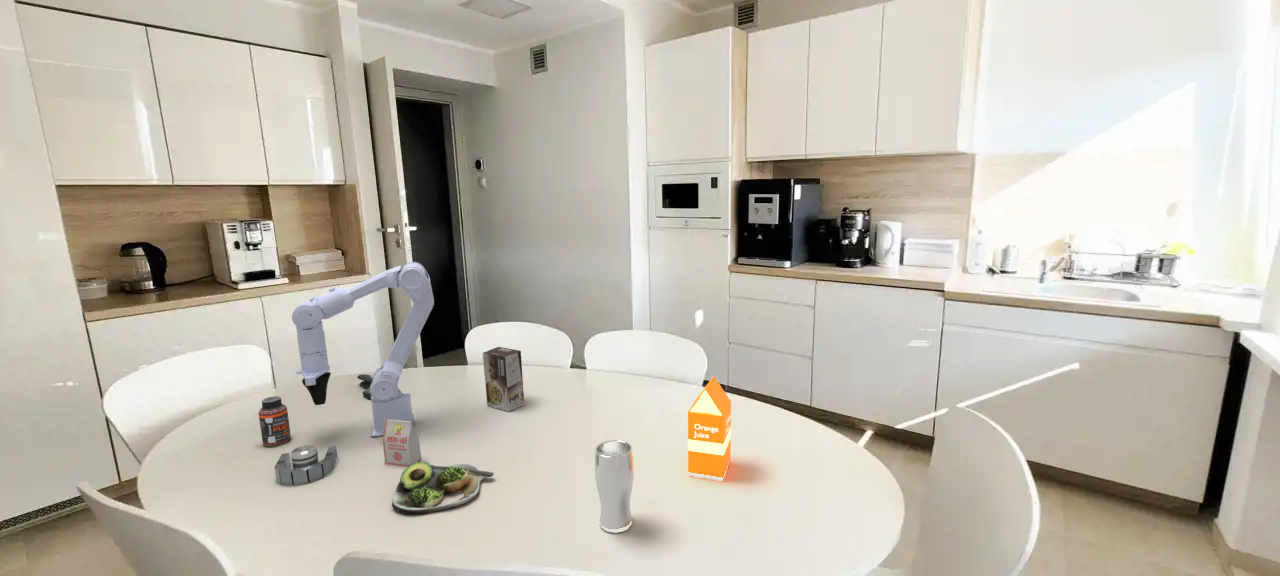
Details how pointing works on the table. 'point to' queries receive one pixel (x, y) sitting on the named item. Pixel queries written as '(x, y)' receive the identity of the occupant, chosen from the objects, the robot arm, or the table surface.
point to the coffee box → (503, 378)
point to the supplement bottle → (274, 422)
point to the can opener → (366, 384)
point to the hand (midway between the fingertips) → (320, 403)
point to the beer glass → (614, 482)
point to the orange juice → (709, 431)
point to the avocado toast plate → (435, 486)
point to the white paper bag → (400, 443)
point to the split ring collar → (304, 469)
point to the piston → (304, 456)
